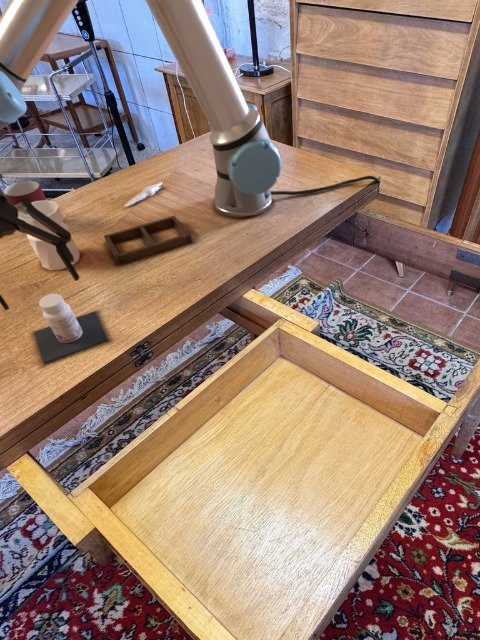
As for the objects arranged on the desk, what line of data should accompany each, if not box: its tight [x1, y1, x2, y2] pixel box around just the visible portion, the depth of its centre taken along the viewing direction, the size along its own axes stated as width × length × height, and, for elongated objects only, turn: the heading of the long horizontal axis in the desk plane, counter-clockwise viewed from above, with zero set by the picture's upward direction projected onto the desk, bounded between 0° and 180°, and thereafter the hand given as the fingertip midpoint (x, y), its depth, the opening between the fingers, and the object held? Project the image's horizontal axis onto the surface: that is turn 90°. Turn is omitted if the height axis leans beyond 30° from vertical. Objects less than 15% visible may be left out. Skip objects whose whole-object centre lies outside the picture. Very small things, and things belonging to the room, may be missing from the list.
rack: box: [103, 215, 193, 266], centre depth 107 cm, size 18×11×2 cm, turn 121°
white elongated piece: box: [123, 181, 163, 207], centre depth 122 cm, size 15×3×2 cm, turn 149°
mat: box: [33, 310, 110, 365], centre depth 86 cm, size 12×10×1 cm
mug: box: [3, 180, 47, 205], centre depth 109 cm, size 11×8×10 cm
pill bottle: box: [38, 293, 82, 343], centre depth 82 cm, size 5×5×8 cm
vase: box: [18, 199, 81, 271], centre depth 99 cm, size 9×9×12 cm
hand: (43, 292), depth 84 cm, fingers open, 13 cm apart
